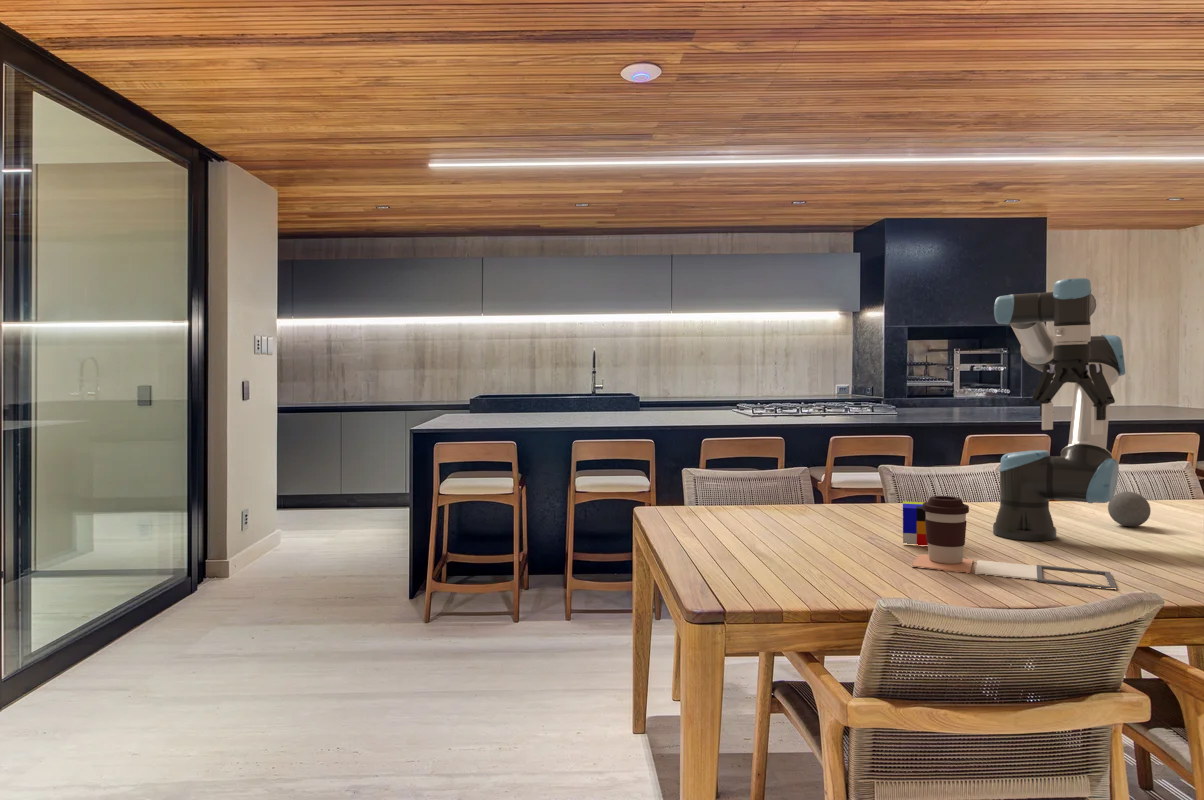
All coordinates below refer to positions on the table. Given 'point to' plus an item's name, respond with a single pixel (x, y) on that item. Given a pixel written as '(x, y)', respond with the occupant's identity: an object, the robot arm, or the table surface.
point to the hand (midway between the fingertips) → (1071, 432)
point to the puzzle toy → (914, 523)
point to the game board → (1007, 570)
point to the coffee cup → (945, 528)
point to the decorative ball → (1129, 509)
